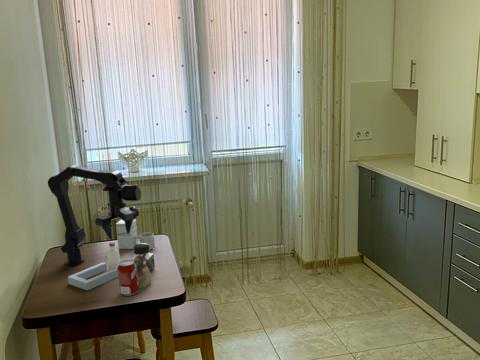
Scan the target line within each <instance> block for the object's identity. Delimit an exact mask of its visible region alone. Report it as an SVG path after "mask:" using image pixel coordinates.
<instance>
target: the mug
mask: <svg viewBox="0 0 480 360" xmlns="http://www.w3.org/2000/svg"><path fill="white" fill-rule="evenodd" d="M136 239H139V243H146V244H148V245H149V250H150V251H152V250H151V249H153V248H156V242H155V233H153V232H143V233H140V234H139V235H137V236H136V237H134V245H136ZM153 250H154V249H153Z"/></svg>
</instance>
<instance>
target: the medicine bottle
mask: <svg viewBox="0 0 480 360" xmlns="http://www.w3.org/2000/svg"><path fill="white" fill-rule="evenodd" d="M144 253H145V254H146V256H145V258H146V259H147V261H148V266H147V267H148V269H149V271H150V274H151V275H152V273H153V272H154V271H155V269H156V265H155V263H156V262H155V255H154V253H153V252H150V251H149V245H148V244H146V243H140V242H138V244H136V245H135V246H134V248H133V255H134V256H132V258H130V260H133V261H134V258H135V257H136V256H137V255H138V254H140V255H141V256H142V255H143V254H144ZM143 264H146V261H144V262H143Z"/></svg>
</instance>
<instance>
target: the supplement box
mask: <svg viewBox="0 0 480 360" xmlns="http://www.w3.org/2000/svg"><path fill="white" fill-rule="evenodd" d="M115 229H116V237H117V249H119V250H134V246H135V245H134V237H136V236H138V228H137V218H135V219H134V220H133V222H132V225H131V229H130V233H127V231H126V226H125V222H124V221H123V220H122V219H119V221H117V222H116V223H115ZM136 244H139V240H138V239H136Z"/></svg>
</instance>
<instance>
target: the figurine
mask: <svg viewBox="0 0 480 360" xmlns="http://www.w3.org/2000/svg"><path fill="white" fill-rule="evenodd" d="M145 256H146V254H145V253H144V254H143V255H142V256H141V255H140V254H138V255H137V256H136V257H135V258H134V263H135V264H136V268H137V277H138V286H139V289H140V288H141V289H142V288H146V287H149V286H150V285H151V284H152V273H151V274H150V271H149V269H148V267H147V266H148V261H147V259H146V258H145ZM144 261H146V264H143V262H144Z"/></svg>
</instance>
